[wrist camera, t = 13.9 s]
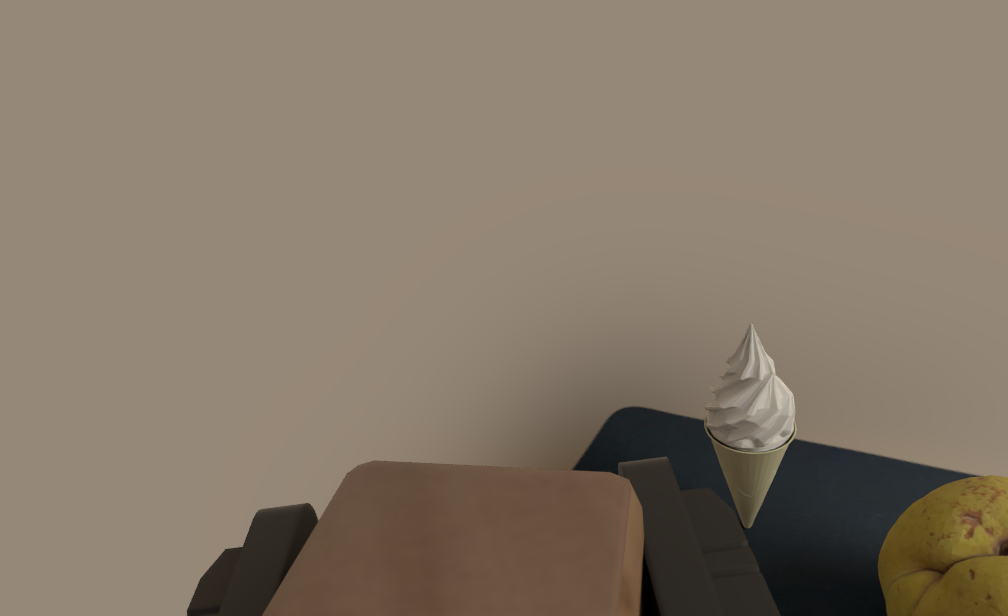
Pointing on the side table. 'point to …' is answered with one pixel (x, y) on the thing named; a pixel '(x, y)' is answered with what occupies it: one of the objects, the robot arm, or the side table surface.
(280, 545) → the robot arm
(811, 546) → the side table surface
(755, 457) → the ice cream cone
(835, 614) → the side table surface
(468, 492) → the wooden block
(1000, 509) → the fruit
